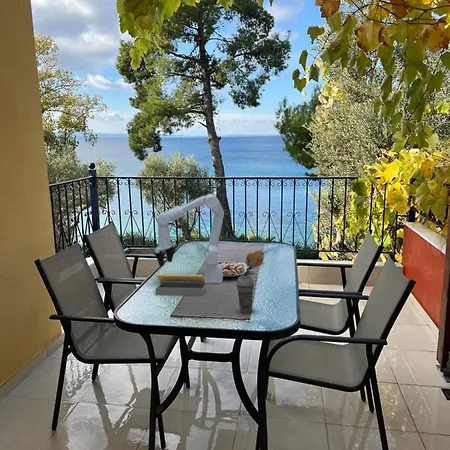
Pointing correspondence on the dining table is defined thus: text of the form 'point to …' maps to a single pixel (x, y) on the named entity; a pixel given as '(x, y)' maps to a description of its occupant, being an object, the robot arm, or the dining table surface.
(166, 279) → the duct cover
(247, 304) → the beverage cup
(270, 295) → the dining table surface
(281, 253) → the dining table surface
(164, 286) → the cable duct
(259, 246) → the dining table surface
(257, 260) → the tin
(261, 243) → the dining table surface
